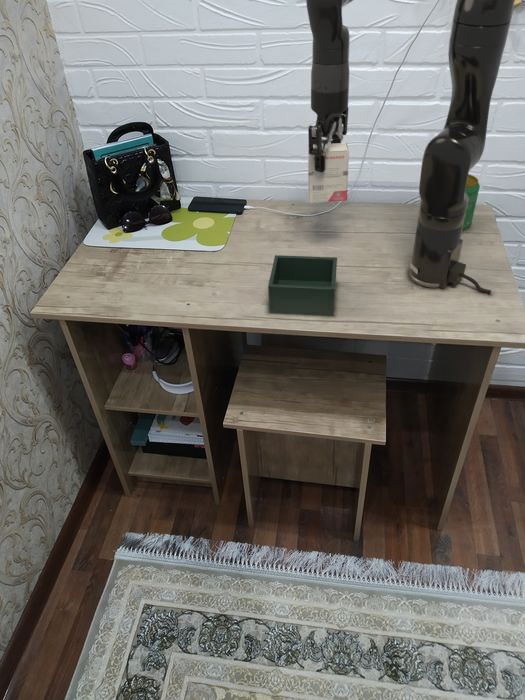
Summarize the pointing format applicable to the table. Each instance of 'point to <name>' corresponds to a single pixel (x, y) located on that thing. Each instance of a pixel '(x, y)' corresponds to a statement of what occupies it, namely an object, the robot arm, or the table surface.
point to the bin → (302, 285)
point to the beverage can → (470, 199)
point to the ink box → (329, 175)
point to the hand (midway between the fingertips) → (327, 164)
